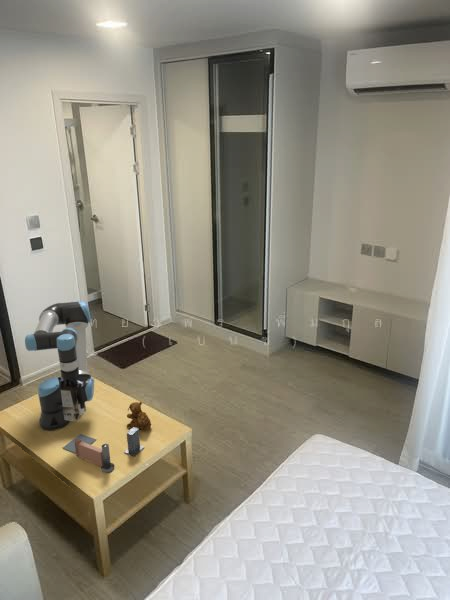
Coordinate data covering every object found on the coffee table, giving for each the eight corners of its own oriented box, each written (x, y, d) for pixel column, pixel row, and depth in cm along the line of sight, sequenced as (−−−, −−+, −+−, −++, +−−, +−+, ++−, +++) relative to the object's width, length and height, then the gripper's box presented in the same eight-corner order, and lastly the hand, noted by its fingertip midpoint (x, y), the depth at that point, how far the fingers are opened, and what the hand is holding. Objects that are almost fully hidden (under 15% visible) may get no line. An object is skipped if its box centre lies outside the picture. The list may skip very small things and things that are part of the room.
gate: (105, 463, 201) (103, 447, 198) (102, 466, 199) (100, 450, 196) (79, 453, 207) (77, 438, 204) (76, 456, 205) (74, 440, 202)
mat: (62, 448, 212) (62, 447, 212) (80, 434, 222) (80, 433, 222) (78, 454, 208) (78, 454, 207) (96, 439, 218) (96, 439, 218)
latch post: (124, 453, 209) (122, 433, 205) (133, 444, 215) (132, 425, 211) (134, 456, 206) (133, 437, 202) (144, 447, 212) (142, 428, 208)
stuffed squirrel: (139, 416, 236) (137, 395, 231) (157, 427, 227) (156, 404, 223) (123, 425, 228) (121, 403, 224) (142, 436, 220) (140, 414, 215)
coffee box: (77, 422, 204) (72, 391, 199) (64, 420, 205) (59, 389, 200) (86, 410, 213) (83, 381, 207) (74, 409, 214) (70, 379, 208)
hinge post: (97, 470, 198) (95, 448, 194) (106, 462, 203) (104, 440, 199) (108, 474, 195) (105, 452, 191) (117, 466, 201) (115, 444, 196)
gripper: (46, 366, 201) (53, 410, 209) (80, 377, 193) (86, 421, 201) (58, 359, 208) (65, 402, 216) (92, 369, 199) (97, 412, 207)
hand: (75, 411), depth 208 cm, fingers closed on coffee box, 7 cm apart
